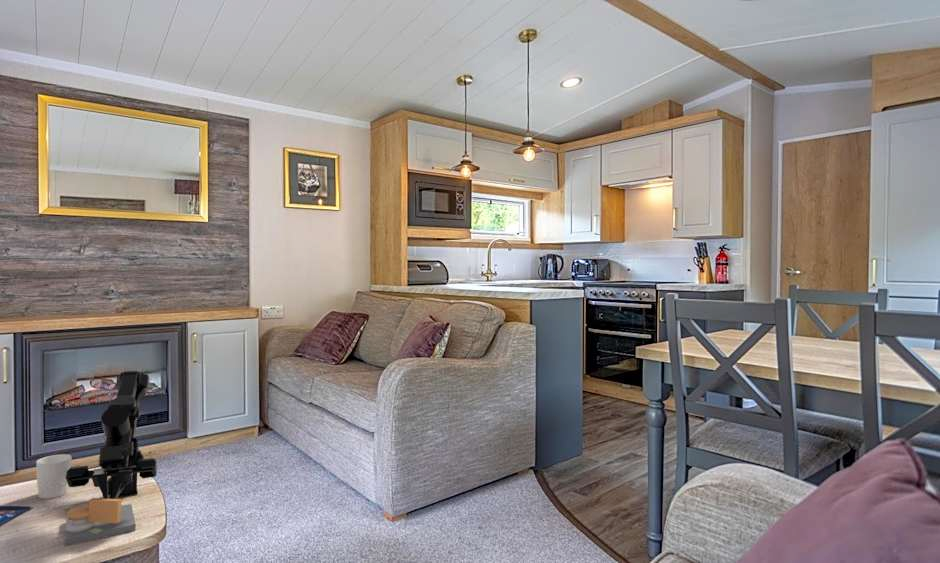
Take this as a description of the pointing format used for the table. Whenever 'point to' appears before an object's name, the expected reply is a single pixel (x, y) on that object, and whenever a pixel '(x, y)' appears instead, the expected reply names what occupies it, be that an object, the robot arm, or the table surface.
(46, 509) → the table surface
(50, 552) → the table surface
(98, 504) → the lever cap
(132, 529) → the base
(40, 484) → the white cup
